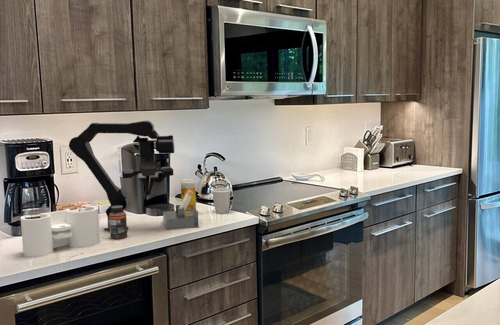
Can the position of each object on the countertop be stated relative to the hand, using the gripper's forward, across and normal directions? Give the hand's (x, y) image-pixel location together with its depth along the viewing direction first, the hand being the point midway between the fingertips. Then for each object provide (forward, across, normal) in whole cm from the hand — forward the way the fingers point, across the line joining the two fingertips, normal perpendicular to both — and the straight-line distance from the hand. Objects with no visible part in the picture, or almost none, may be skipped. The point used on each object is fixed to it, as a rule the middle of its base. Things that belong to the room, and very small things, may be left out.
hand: (148, 194), depth 187 cm
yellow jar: (+13, +18, +18) cm, 29 cm away
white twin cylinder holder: (+13, -30, -16) cm, 37 cm away
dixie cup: (+13, +32, +17) cm, 39 cm away
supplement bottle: (+13, -12, -9) cm, 20 cm away
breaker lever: (+8, +12, +2) cm, 15 cm away
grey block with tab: (+13, +12, +2) cm, 18 cm away
